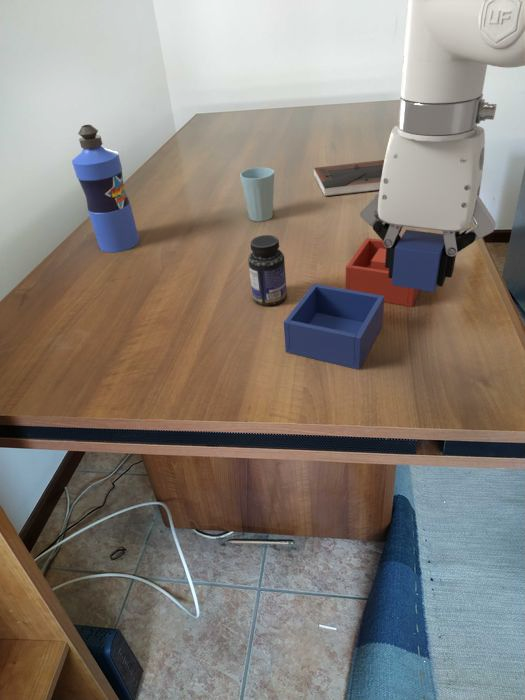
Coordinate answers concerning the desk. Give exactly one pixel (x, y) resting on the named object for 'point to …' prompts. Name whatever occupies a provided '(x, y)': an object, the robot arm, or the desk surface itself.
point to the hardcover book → (350, 177)
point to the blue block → (418, 260)
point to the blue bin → (334, 325)
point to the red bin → (375, 276)
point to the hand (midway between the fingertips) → (417, 275)
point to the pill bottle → (267, 271)
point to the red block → (379, 260)
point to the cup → (259, 192)
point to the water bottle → (105, 193)
